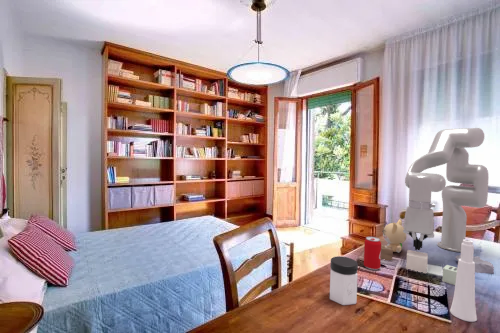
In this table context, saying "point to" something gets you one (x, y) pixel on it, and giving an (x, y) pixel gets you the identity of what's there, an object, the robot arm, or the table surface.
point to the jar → (343, 280)
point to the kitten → (394, 235)
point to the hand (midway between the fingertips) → (417, 249)
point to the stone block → (480, 265)
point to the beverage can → (372, 253)
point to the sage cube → (449, 274)
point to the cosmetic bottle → (465, 285)
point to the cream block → (417, 261)
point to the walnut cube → (386, 252)
